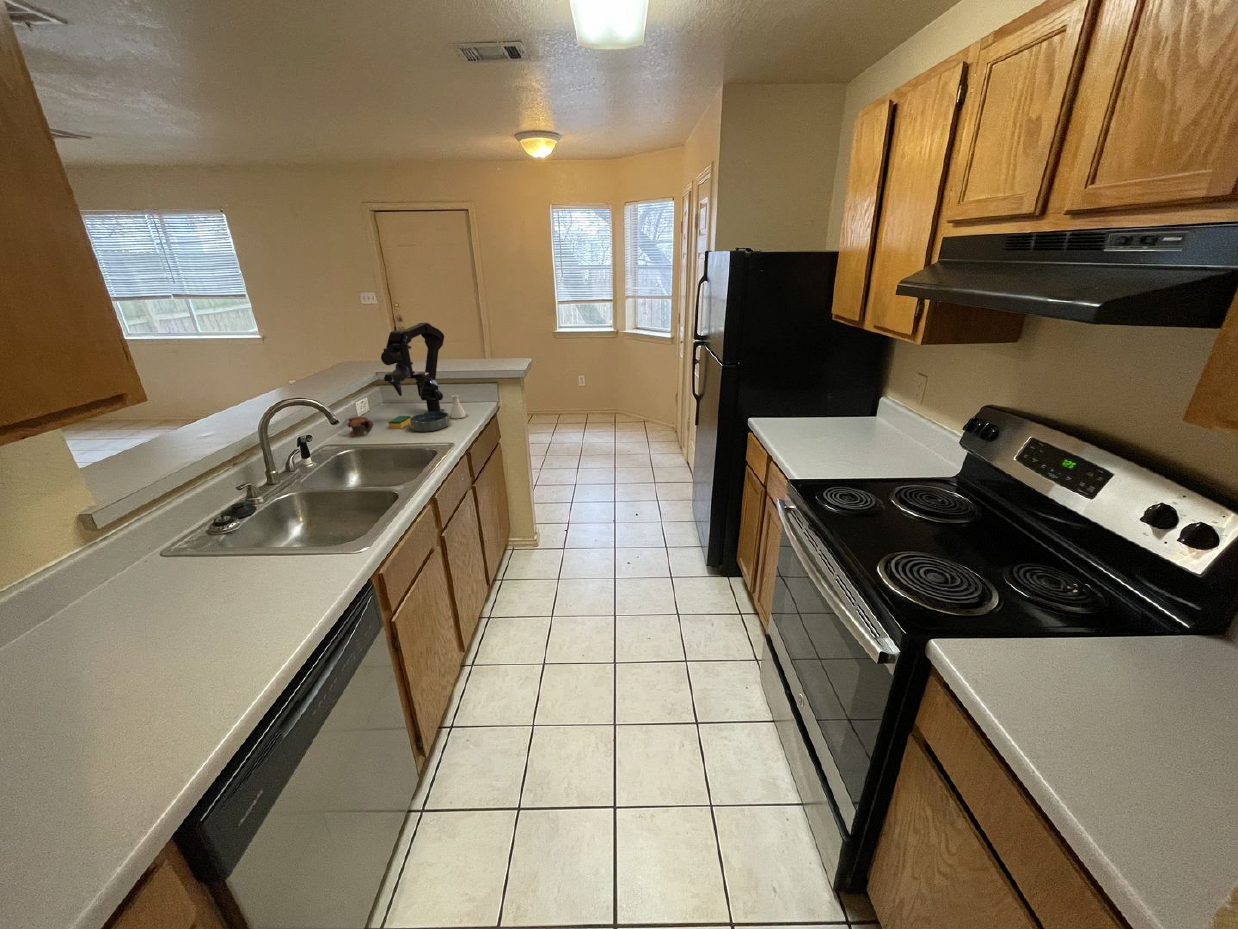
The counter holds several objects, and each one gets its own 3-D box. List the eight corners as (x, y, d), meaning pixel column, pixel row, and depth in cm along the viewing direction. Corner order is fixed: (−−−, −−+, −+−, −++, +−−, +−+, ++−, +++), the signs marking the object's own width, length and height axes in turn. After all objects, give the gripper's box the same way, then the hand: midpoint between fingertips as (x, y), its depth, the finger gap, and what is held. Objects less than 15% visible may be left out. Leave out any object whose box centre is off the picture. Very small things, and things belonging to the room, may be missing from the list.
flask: (463, 418, 231) (460, 397, 228) (448, 419, 232) (444, 397, 228) (468, 414, 238) (465, 393, 234) (453, 414, 238) (449, 393, 234)
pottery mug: (343, 438, 212) (341, 419, 213) (360, 441, 221) (358, 423, 222) (366, 432, 209) (364, 413, 210) (383, 435, 218) (381, 416, 219)
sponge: (400, 422, 230) (399, 415, 229) (411, 422, 229) (410, 415, 228) (389, 428, 221) (388, 421, 220) (401, 428, 221) (400, 421, 220)
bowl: (422, 420, 230) (420, 411, 228) (456, 421, 228) (454, 411, 226) (404, 432, 215) (402, 422, 214) (440, 432, 213) (438, 422, 212)
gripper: (373, 364, 213) (380, 400, 219) (414, 364, 211) (421, 400, 216) (387, 359, 223) (394, 394, 229) (427, 359, 221) (433, 394, 227)
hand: (410, 395), depth 225 cm, fingers open, 9 cm apart
